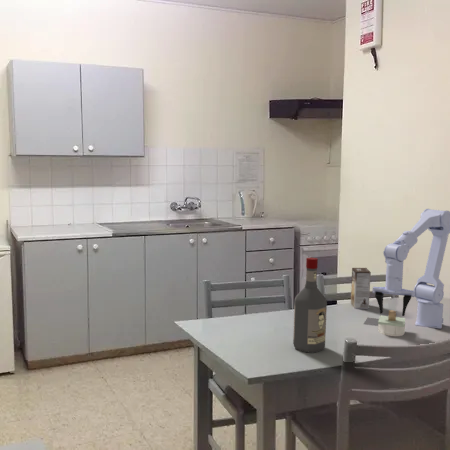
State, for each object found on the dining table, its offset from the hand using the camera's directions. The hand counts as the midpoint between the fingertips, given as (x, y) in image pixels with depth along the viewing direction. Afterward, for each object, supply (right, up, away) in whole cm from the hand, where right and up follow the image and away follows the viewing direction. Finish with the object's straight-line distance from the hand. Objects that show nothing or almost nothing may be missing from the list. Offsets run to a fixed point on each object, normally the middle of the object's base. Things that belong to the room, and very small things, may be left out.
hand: (392, 314), depth 206 cm
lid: (0, -3, +1) cm, 3 cm away
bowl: (0, -7, +1) cm, 7 cm away
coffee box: (-3, -3, +38) cm, 38 cm away
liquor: (-33, -9, -17) cm, 38 cm away
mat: (-1, -6, +13) cm, 14 cm away
